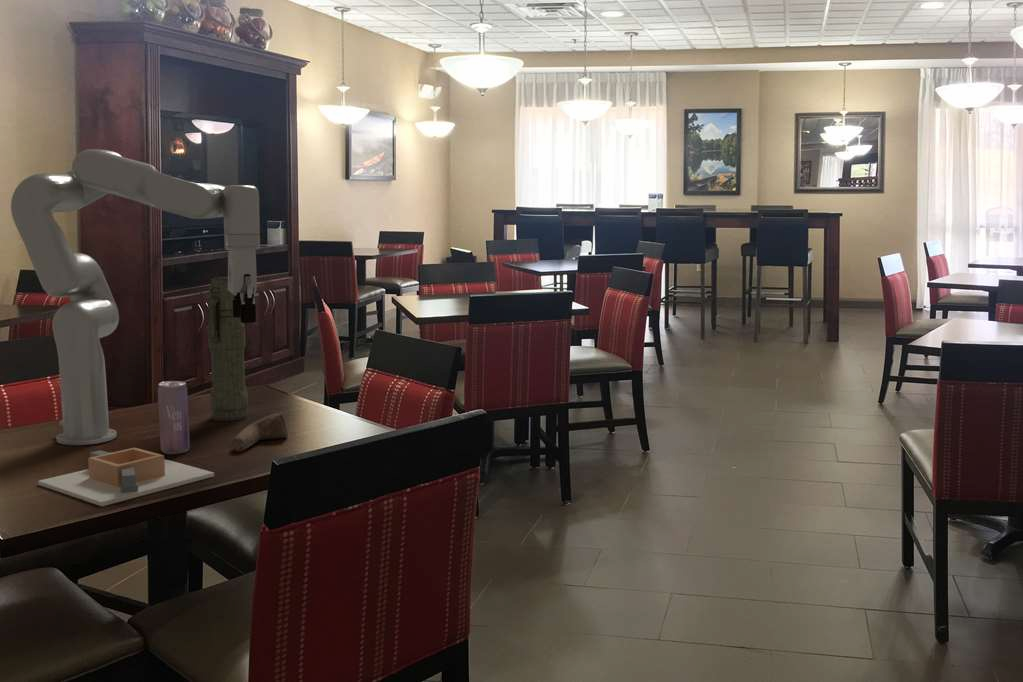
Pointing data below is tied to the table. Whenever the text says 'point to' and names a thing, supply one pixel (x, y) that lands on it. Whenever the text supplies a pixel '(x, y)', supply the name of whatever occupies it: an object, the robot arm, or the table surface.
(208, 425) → the table surface
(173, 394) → the beverage can
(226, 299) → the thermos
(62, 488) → the white board with box
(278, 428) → the pipe
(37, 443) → the table surface
